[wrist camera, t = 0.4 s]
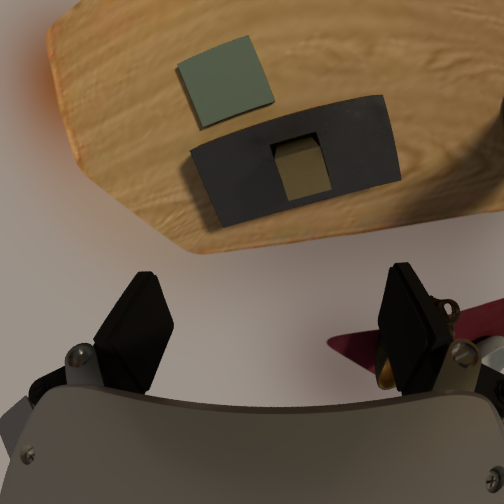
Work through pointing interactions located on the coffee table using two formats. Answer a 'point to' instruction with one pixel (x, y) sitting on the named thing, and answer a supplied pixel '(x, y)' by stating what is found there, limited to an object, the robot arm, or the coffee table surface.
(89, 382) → the robot arm
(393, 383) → the cup
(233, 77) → the green mat
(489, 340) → the cereal bowl
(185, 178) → the coffee table surface
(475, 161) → the coffee table surface
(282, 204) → the dark square-hole plate
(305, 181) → the brass plug
